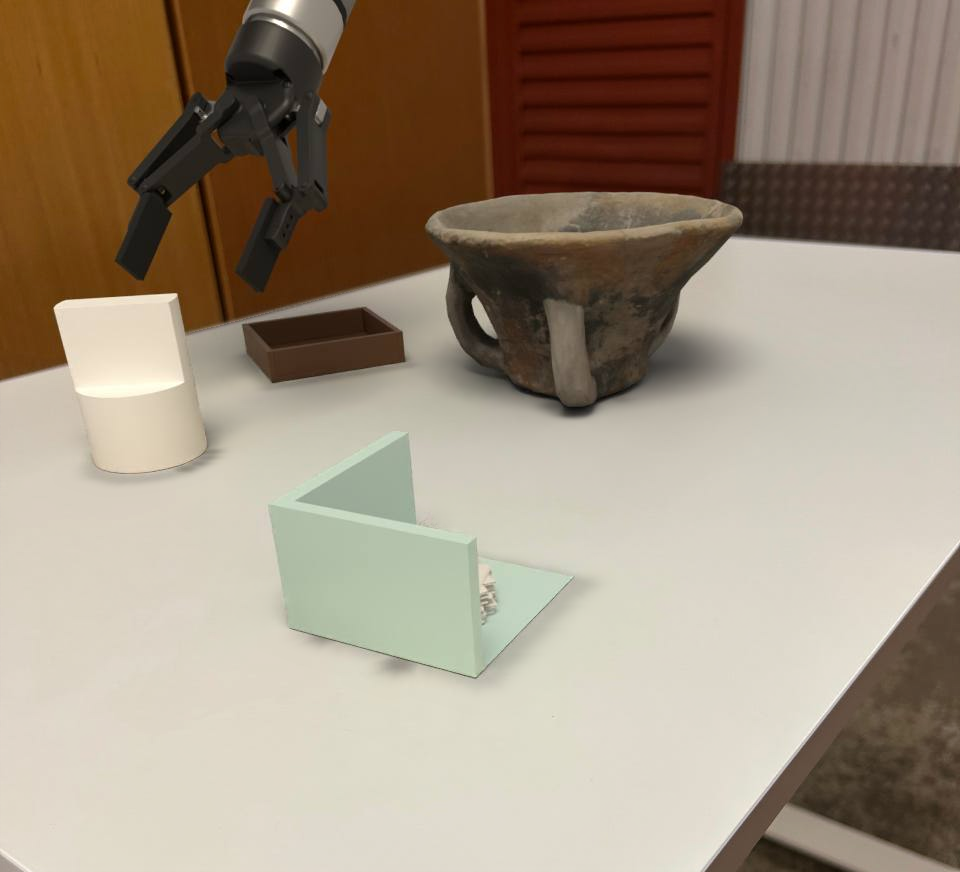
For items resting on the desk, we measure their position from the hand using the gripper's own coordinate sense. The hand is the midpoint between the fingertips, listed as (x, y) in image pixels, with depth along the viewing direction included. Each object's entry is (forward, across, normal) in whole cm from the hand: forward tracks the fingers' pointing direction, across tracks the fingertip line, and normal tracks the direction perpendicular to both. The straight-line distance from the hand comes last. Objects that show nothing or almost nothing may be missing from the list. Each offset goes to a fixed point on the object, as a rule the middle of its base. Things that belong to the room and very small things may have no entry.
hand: (186, 276), depth 80 cm
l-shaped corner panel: (+21, -35, +3) cm, 41 cm away
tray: (-6, +5, -24) cm, 25 cm away
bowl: (-9, -23, -26) cm, 36 cm away
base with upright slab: (+14, 0, -4) cm, 15 cm away
